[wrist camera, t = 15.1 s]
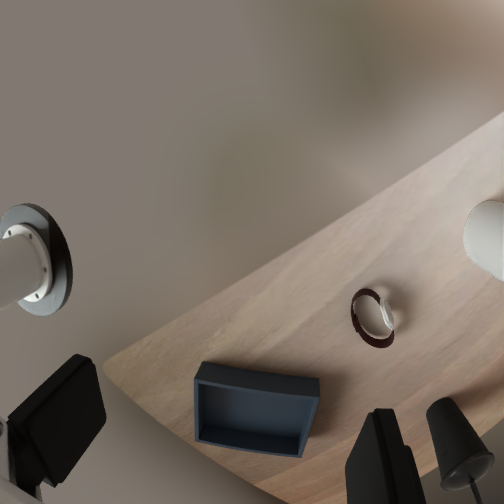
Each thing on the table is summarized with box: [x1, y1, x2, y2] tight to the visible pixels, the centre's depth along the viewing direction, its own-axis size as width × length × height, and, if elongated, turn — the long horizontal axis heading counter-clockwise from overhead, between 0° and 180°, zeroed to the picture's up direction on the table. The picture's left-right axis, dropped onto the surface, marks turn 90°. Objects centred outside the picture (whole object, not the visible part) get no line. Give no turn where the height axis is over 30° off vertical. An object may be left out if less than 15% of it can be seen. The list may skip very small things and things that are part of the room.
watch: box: [351, 289, 394, 348], centre depth 33 cm, size 8×5×4 cm, turn 33°
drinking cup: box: [426, 398, 495, 504], centre depth 28 cm, size 8×8×20 cm
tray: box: [194, 362, 320, 458], centre depth 39 cm, size 15×12×4 cm
